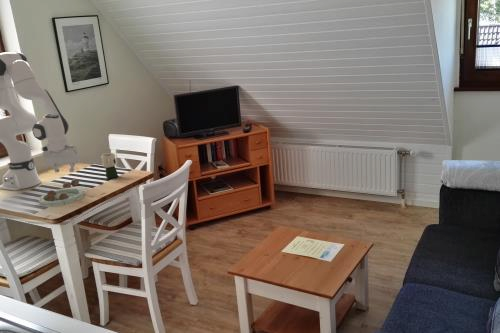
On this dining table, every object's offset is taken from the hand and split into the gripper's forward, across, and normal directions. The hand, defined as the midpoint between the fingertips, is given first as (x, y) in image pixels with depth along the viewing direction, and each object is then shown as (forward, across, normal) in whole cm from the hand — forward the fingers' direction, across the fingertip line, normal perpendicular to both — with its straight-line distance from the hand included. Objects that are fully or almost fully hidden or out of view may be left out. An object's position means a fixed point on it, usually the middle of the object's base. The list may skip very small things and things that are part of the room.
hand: (64, 171), depth 266 cm
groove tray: (+10, -7, +14) cm, 18 cm away
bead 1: (+10, +1, 0) cm, 10 cm away
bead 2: (+10, 0, -6) cm, 11 cm away
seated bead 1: (+9, -1, +14) cm, 17 cm away
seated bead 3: (+10, -11, +18) cm, 23 cm away
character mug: (+10, -13, -20) cm, 26 cm away
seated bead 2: (+9, -5, +19) cm, 22 cm away
